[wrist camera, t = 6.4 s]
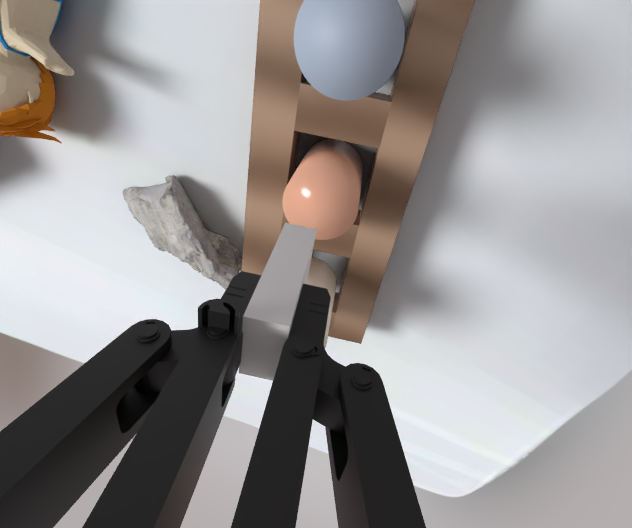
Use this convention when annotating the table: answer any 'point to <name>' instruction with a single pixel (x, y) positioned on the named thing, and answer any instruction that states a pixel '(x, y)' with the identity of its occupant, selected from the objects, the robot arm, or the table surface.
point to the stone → (183, 230)
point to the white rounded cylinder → (323, 284)
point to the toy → (28, 66)
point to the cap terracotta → (325, 189)
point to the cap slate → (348, 45)
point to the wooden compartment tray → (351, 126)
